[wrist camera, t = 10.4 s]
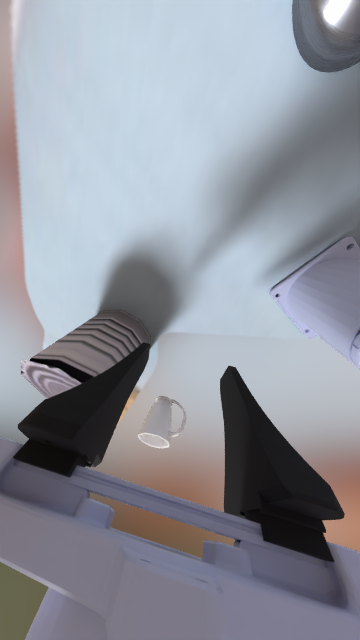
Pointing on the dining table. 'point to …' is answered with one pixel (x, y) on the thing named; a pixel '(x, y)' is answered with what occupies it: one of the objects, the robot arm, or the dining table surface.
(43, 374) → the can
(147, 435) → the cup
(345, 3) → the ratchet
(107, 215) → the dining table surface
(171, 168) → the dining table surface
